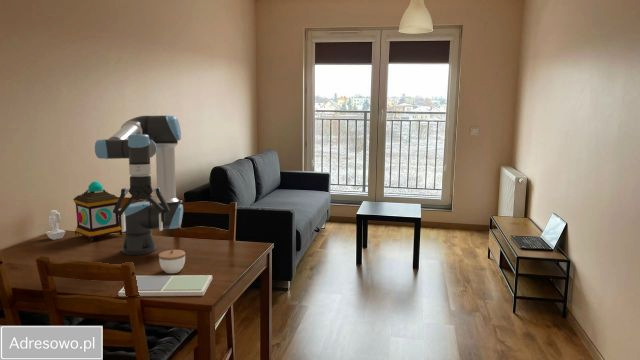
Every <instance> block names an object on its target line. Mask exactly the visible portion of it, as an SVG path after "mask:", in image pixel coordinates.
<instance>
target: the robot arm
mask: <svg viewBox="0 0 640 360" xmlns="http://www.w3.org/2000/svg"><path fill="white" fill-rule="evenodd" d="M181 139H182V132H181V125H180V122H179V119H178V117H177V116H175V115H167V114H166V115H139V116H137V117H133V118H130V119H129V120H127V121H125V122H124V123H123V124H121V126H120V129H119V130H117V132H115V133H114V134H113V135H111V136H110V137H109V138H108V139H105V138H103V139H97V140H96V141H95V143H94V154H95V156H96V158H98V159H102V160H103V159H104V160H108V159H110V160H112V159H113V160H114V159H116V160H117V159H128V166H129V167H128V168H129V169H128V171H129V172H128V173H129V175H130V176H129V188H125V187H124V188H122V189H121V190H120V196H119V197H118V198H119V199H118V202H117V204H116V206H115V208H114V210H113V213H116V214H118V220H119V224H121V229H122V233H124V234H125V237H124V240H123V244H122V247H121V249H122V251H121V252H122V253H123V254H124V255H127V256H128V255H131V256H140V255H146V254H150V253H152V252H155V251H156V250H157V243H156V241H155V239H154V237H153V234H152V230H159V232H162V231H163V230H165V229H167V230H168V229H169V230H171V229H178V228H180V226H181V225H182V220H183V215H184V205H183V204H181V203H180V199H178V197H177V188H176V184H177V183H176V154H175V148H176V147H177V146H178V143H179V142H178V141H181ZM154 156H155V165H156V167H155V168H156V169H155V171H156V187H155V188H153V187H152V177H151V174H152V172H151V171H152V170H151V169H152V168H151V158H152V157H154ZM128 193H129V194H130V195H131V196H130V198H129V199H128V200H127V201H126V202H125V204H124V205H123V206H122V204H123V202H124V200H125V197H126V195H127V194H128ZM152 193H154V194H155V195H156V199H155V198H154V197H153V195H152ZM135 200H136V201H138V202H133V201H135ZM145 200H147V201H145ZM121 206H122V207H121Z"/></svg>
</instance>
